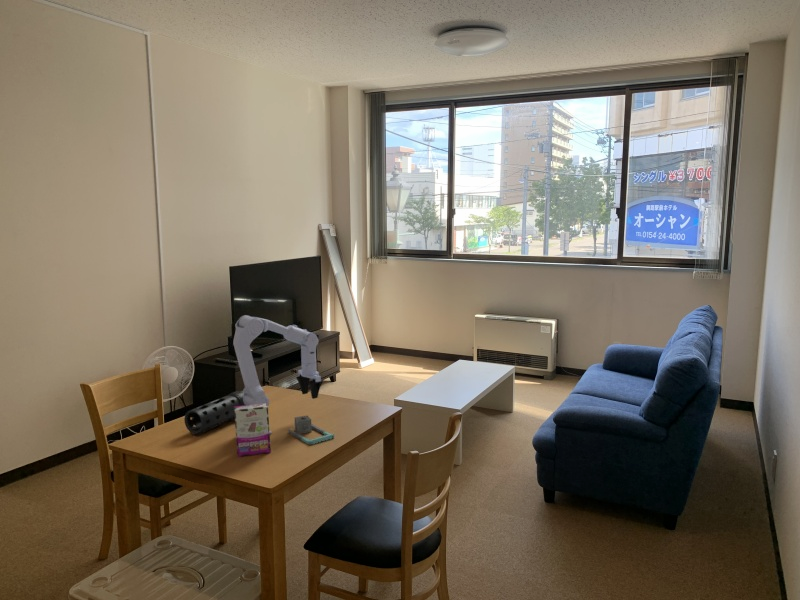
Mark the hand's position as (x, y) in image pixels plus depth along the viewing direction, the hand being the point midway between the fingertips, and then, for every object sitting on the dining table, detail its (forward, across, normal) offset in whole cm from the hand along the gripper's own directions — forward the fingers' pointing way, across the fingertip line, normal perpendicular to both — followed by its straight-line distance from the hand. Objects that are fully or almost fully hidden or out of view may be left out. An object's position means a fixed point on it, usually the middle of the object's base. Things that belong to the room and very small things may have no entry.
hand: (309, 395), depth 235 cm
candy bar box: (+10, -16, +32) cm, 37 cm away
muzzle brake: (+10, +18, +30) cm, 36 cm away
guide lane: (+10, -15, +9) cm, 20 cm away
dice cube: (+10, -9, +8) cm, 16 cm away
